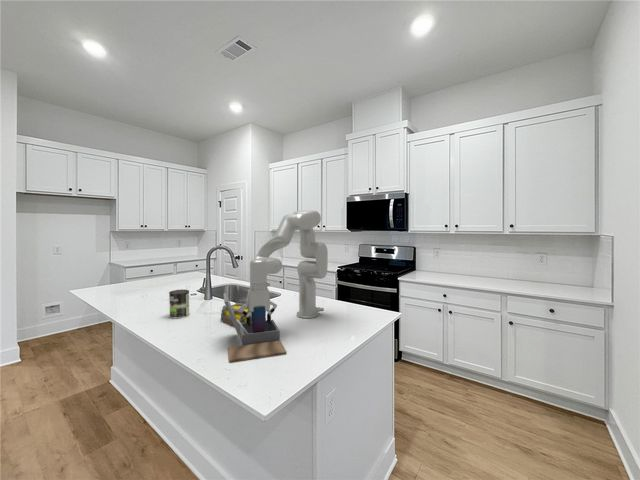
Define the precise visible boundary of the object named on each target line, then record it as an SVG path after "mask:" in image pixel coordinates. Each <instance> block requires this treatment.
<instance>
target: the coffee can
mask: <svg viewBox="0 0 640 480" xmlns="http://www.w3.org/2000/svg"><path fill="white" fill-rule="evenodd" d="M168 294H169V299H168V300H169V318H170V319H175V320H176V319H178V318H179V319H184V318H187V317H189V316H190V290H188V289H175V290H171V291H169V292H168Z"/></svg>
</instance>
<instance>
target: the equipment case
mask: <svg viewBox="0 0 640 480" xmlns="http://www.w3.org/2000/svg"><path fill="white" fill-rule="evenodd" d="M236 321H237V322H238V324H239V325H240V332H241V335H240V336H239V337H240V341H241V346H243V345H250V344H257V343H265V342H272V341H279V340H280V337H281V333H280V329H279V327H278V326H277V324H276V322H275V320H274V319H271V321H270V324H268V323H267V319H266V320H265V332H258V333H253V326H252V322H250V326H248V324H247V323H240V322H239V320H238V319H237V320H236ZM280 341H281V340H280Z"/></svg>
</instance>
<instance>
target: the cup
mask: <svg viewBox="0 0 640 480" xmlns="http://www.w3.org/2000/svg"><path fill="white" fill-rule="evenodd" d="M265 318H266V319H267V311H265V306H264V307H254V312H252V326H253V333H258V332H266V331H265Z"/></svg>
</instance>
